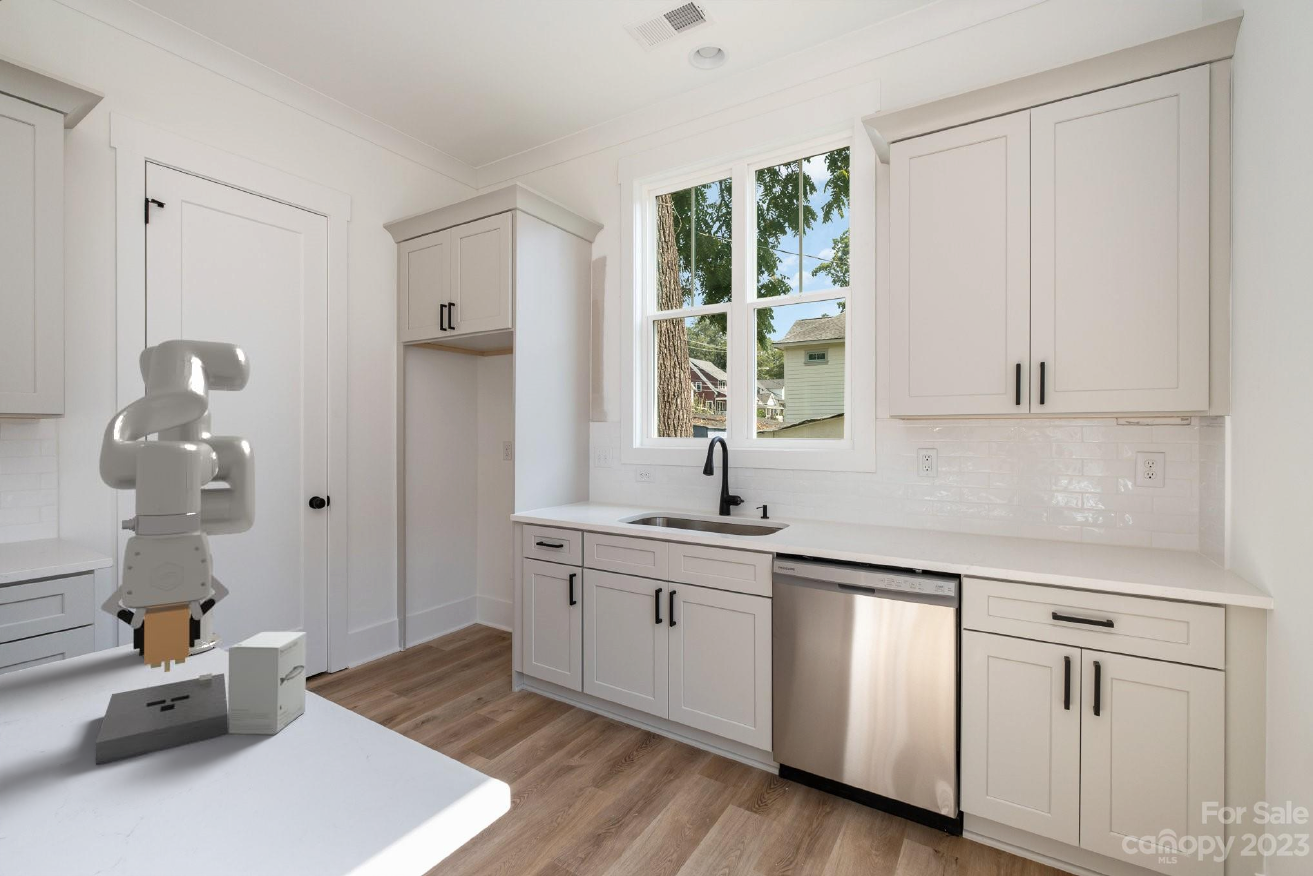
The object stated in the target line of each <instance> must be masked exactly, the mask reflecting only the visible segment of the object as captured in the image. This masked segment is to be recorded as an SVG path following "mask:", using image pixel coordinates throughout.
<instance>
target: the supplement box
mask: <svg viewBox="0 0 1313 876" xmlns="http://www.w3.org/2000/svg"><path fill="white" fill-rule="evenodd" d="M306 674H307V632H306V631H261V632H258V633H256V634H255V635H253V636H250V637H249V638H247V639H244V640H242V641H241V642H238V643H236V644H234V645H232V646H230V647H229V648H228V685H227V687H228V688H227V689H228V690H227V692H228V693H227V694H228V697H227V698H228V699H227V700H228V701H227V711H228V734H238V735H239V734H243V735H277V734H278V733H279V732H280V731H281V730H282V729H284V728H285V727H287V726H288V725H289V724H290V723H291V722H293V721H294V720H296V719H297V718H298V717H300V716H301V715H302V714H304V713H305V712H306V691H305V690H307V689H306V685H307V683H306V682H307V681H306V679H307V678H306V676H307V675H306Z"/></svg>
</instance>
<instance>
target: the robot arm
mask: <svg viewBox="0 0 1313 876" xmlns="http://www.w3.org/2000/svg"><path fill="white" fill-rule="evenodd" d="M139 355H140V356H139V360H138V361H139V369H140V374H141V378H142V380H143V383H144V385H145V388H146V395H145V396H143V397H141V398H140V397H139V398H138V399H137V400H135V401H133V402H131V403H130V404H128V405H126V406H125V407H124V408H122V409H121V410H120V411H118V412H117V413H116V414H115V415H114V416H113V417H112V418H110V421H109V422H108V423H107V426H106V428H105V430H104V432H103V433H104V434H103V439H102V445H101V449H100V455H99V463H98V464H99V467H98V469H99V475H100V478H101V480H102V482H103V483H104V484H106V486H108V487H109V488H111V489H114V490H122V491H124V490H125V491H126V490H130V491H131V490H135V506H134V507H135V516H134V517H132V518H129V519H124V520H122V521H121V530H122V531H125V530H129V531H132V532H134V536H133V535H132V536H130V537H128V539H127V542H126V546H125V549H124V557H123V564H122V565H123V566H122V575H121V577H122V579H121V580H122V581H121V584H120V586H119V587H117V588H116V590H114V592H113V593H112V594H111V595H110V596H109V597H108V598H107V599H106V600H105V601H104V602H103V603H102V605H101V606H100V609H101V611H103V612H105V613H107V614H110V615H112V616H114V617H117V619H119V620H121V621H123V622H124V623H125V624H127V625H128V626H130V627H131V628H132V629H133V631H132V632H133V637H132V638H133V640H132V641H133V642H132V643H133V645H132V646H133V647H132V648H133V650H138V649H139V650H138V652H139V654H138V655H139V657H144V623H145V612H146V610H147V608H148V607H156V606H165V605H173V604H180V603H188V605H189V608H190V620H189V647H190V648H189V656H191V654H192V655H196V654H199V653H203V652H206V651H209V650H212V649H214V648H216V647H218V646H219V645H221V643H222V641H223V636H222V635H221V634H220V633H219V632H218V633H217V632H214V631H213V630H214V629H213V621H214V620H213V610H214V609H213V607H215V605H216V604H218V603H219V602H221V601H222V600H224V598H225V597H227V596H228V595H229V592H230V590H229V588H228V587H226V586H225V585H224V584H223V583H222V582H221V581H220V580H218V578H217V577H215V575H214V563H213V562H214V559H213V556H212V553H211V552H210V551H211V550H210V543H209V538H208V536H221V535H223V536H224V535H233V534H235V535H236V534H242V533H246V532H248V531H250V530H251V529H252V527H253V526H254V523H255V519H256V477H255V475H256V474H255V473H256V471H255V470H256V469H255V467H256V464H255V452H254V449H253V446H252V444H251V441H249V439H247V438H245V437H243V436H238V435H213V434H212V421H211V420H212V416H211V415H212V414H211V411H210V409H209V391H225V392H240V391H243V390H244V389H245V387H246V386H247V384H248V382H249V380H250V375H251V374H250V371H251V367H250V359H249V356H248V354H247V352H246V351H245V349H244V348H243V347H242V346H240V345H237V344H235V343H228V342H220V341H219V342H217V341H204V340H193V339H192V340H191V339H170V340H165V341H162V342H161V343H159V344H158V345H155V346H149V347H147V348H144V349H143V350H142V351H141V353H140V354H139ZM156 433H157V440H139V439H142V438H144V437H147V436H149V435H152V434H156ZM216 482H217V483H219V482H221V483H226V484H227V485H228V486H229V487H224V488H222V487H221V488H219V487H218V488H205V487H204V486H206V485H209V483H216ZM201 487H204V488H201ZM120 601H121V603H122V605H123V606H122V605H120V604H119V602H120ZM131 609H135V611H134V612H133V611H132V610H131ZM202 641H203V642H206V643H208V644H210V645H212V646H214V648H213V647H211V646H209V645H207V644H206V643H203V642H202Z"/></svg>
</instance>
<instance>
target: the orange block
mask: <svg viewBox="0 0 1313 876" xmlns="http://www.w3.org/2000/svg"><path fill="white" fill-rule="evenodd" d="M144 620H145V623H144V656H143V657H144V659H143V660H144V661H143V665H149V664H150V669H154V668H155V669H156V668H160V667H162V662H164V668H163V669H164V671H163V672H164V673H168V672H171V661H174V665H180V664H185V663H186V658H189V657H190V655H189V648H190V647H189V620H190V608H189V605H188V603H180V604H173V605H165V606H156V607H148V608H147V610H146V612H145V616H144Z"/></svg>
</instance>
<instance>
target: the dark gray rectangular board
mask: <svg viewBox="0 0 1313 876" xmlns="http://www.w3.org/2000/svg"><path fill="white" fill-rule="evenodd" d="M198 676H199V677H197V678H192V679H187V680H181V681H176V682H171V683H170V682H169V683H165V684H160V685H159V684H158V685H154V686H148V687H143V688H138V689H133V690H128V691H123V692H116V693H112V694H111V696H110V699H109V702H108V705H107V708H106V712H105V714H104V718H103V721H102V723H101V726H100V729H99V731H98V732H99V733H98V734H97V737H96V741H95V767H97V766H100V765H106V764H109V763H114V762H119V761H122V760H126V759H127V760H128V759H130V758H135V757H139V756H143V755H148V754H152V753H156V752H160V751H164V750H169V749H172V748H173V749H174V748H177V747H181V746H186V745H191V744H195V743H198V742H202V741H203V742H204V741H207V740H211V739H216V738H219V737H223V736H228V734H229V733H228V701H227V700H228V699H227V690H226V679H225V678H226V677H225V673H218V674H213V675H212V673H207V674H202V675H198Z"/></svg>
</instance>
